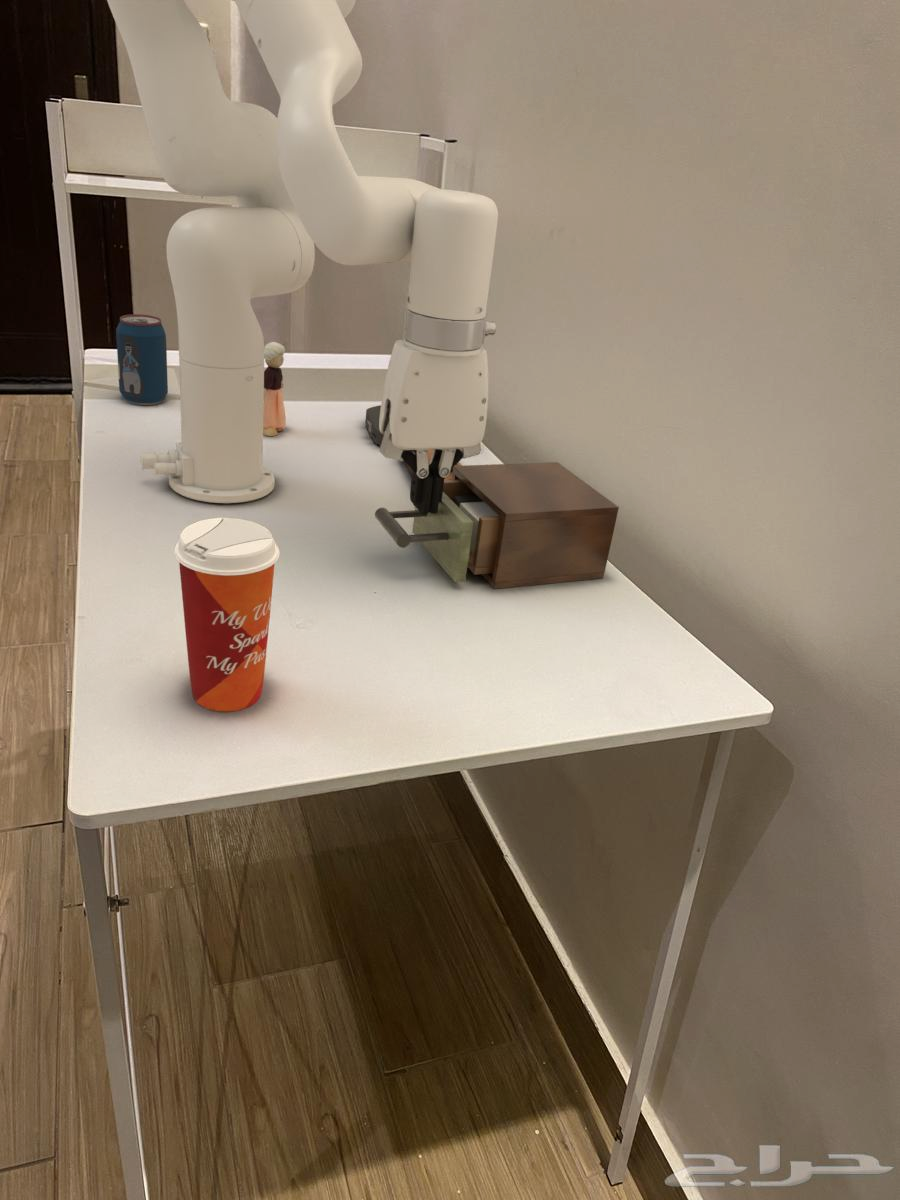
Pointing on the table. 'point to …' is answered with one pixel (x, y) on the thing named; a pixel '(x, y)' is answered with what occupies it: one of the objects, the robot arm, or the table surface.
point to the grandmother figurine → (273, 390)
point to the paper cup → (226, 608)
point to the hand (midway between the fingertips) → (424, 508)
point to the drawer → (448, 534)
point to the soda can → (142, 359)
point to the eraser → (473, 512)
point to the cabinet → (543, 522)
